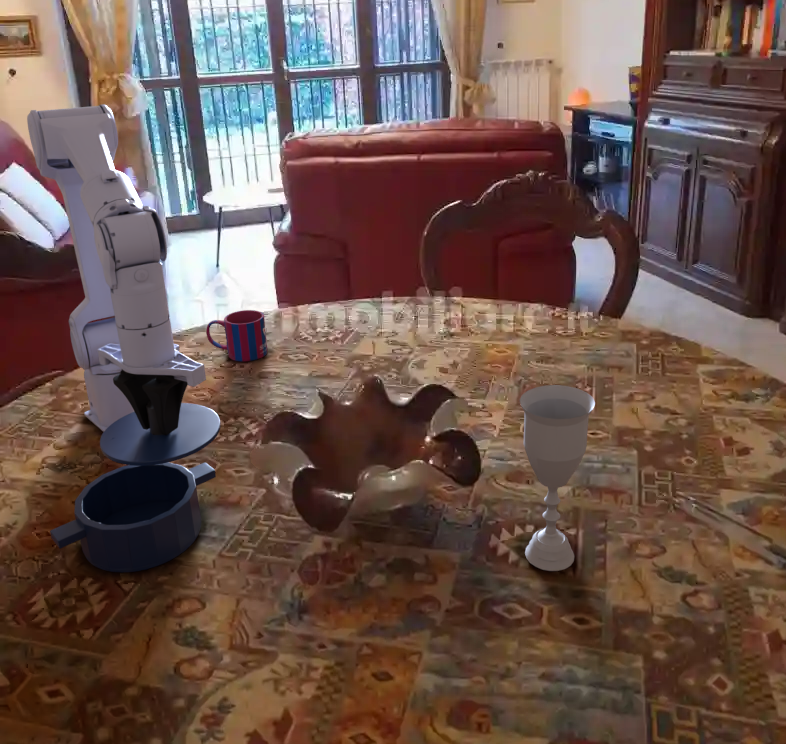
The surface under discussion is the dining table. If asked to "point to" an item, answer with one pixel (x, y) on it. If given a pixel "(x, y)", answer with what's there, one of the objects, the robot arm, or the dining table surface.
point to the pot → (136, 516)
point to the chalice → (554, 460)
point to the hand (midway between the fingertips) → (160, 428)
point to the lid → (159, 437)
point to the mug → (243, 335)
